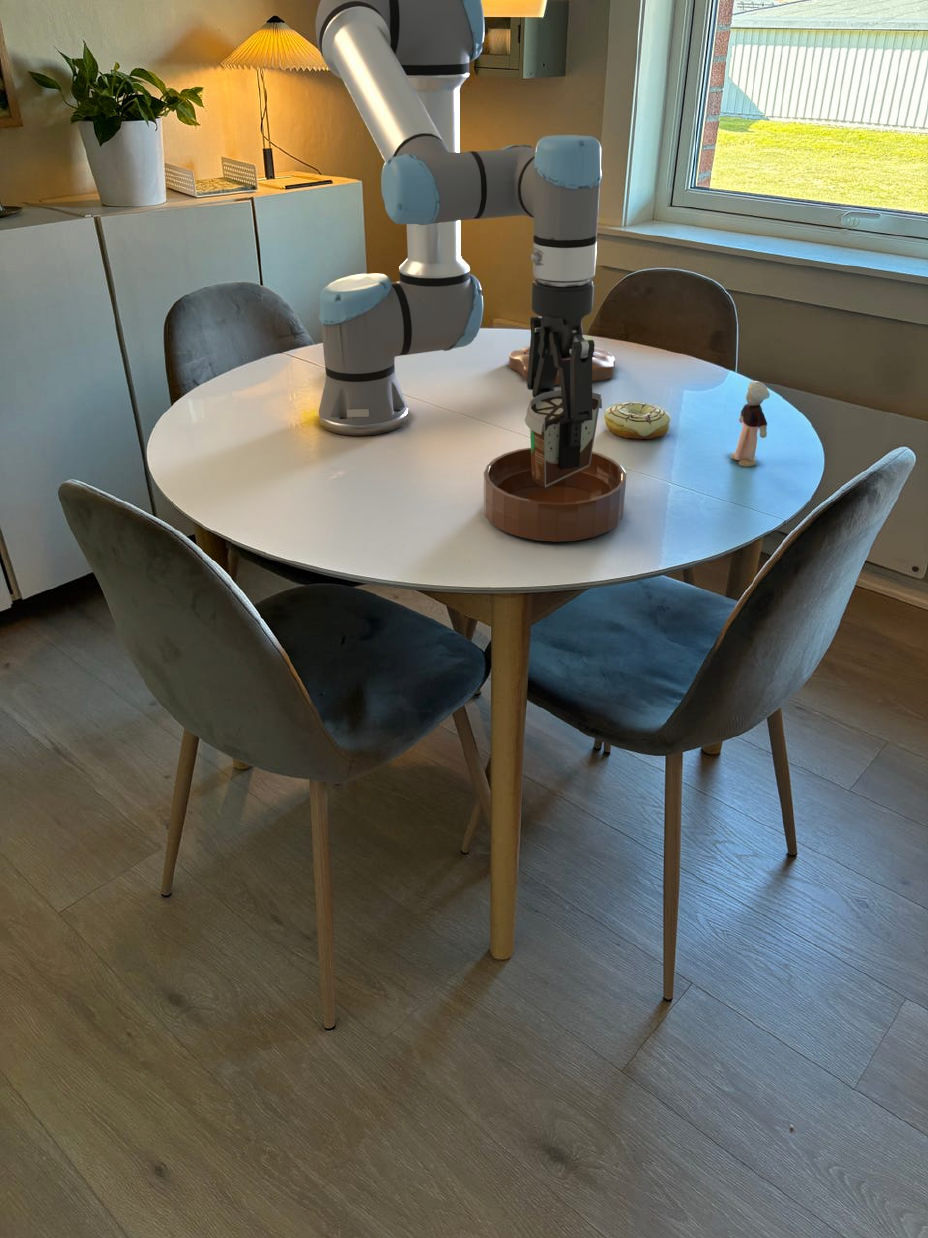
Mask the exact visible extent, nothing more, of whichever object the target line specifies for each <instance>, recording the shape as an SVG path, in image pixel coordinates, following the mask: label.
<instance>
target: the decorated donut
mask: <svg viewBox="0 0 928 1238" xmlns="http://www.w3.org/2000/svg"><path fill="white" fill-rule="evenodd" d="M603 420H604V422H605V426H606V428H607V429H608V430H609V432H611V433H612V434H614V435H617V436H618V437H621V438H624V439H639V440H644V439H646V440H651V439H655V438H659V437H660V436H664V435H666V434H667V433H668V431H669V428H670V421H671V415H670V414H669V412H667V410H665V409H664V408H663V407H661V406H659V405H656V404H651V403H648V402H642V401H623V402H617V403H615V404H612V405H611V406H610V407H608V408H607V409H606V410H605V412H604V416H603Z"/></svg>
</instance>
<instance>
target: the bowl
mask: <svg viewBox="0 0 928 1238" xmlns="http://www.w3.org/2000/svg"><path fill="white" fill-rule="evenodd" d="M626 485H627V472H626V471H625V469H624V467H623V466H622V465H621V464H620V463H619V462H617V461H616V460H615V459H613V458H611V457H609V456H607V455H605V454H602V453H599V452H596V451H592V456H591V462H590V466H589V467H587V468H585V469H583V470H581V471H579V472H576V473H574V474H572V475H570V476H568V477H566V478H564V479H562V480H560V481H558V482H556V483H554V484H552V485H550V486H548V487H546V488H544V487H542V486H540V485H539V484H537V483H536V482H535V481H534V479H533V477H532V465H531V447H525V448H519V449H516V450H512V451H509V452H505V453H502V454H501V455H499V456H497V457H495V458H493V459H492V460H490V462H489V463H488V464H487V465H486V466H485V469H484V472H483V510H484V515H485V517H486V519H488V521H489V522H490V523H491V524H492V525H493V526H495V527H497V528H498V529H500V530H502V531H503V532H505V533H508V534H510V535H513V536H516V537H518V538H524V539H528V540H534V541H541V542H553V543H555V542H557V543H558V542H559V543H560V542H575V541H580V540H585V539H589V538H590V539H591V538H594V537H597V536H600V535H603V534H605V533H608V532H609V531H611V530H612V529H614V528H615V527H617V526H618V525H619V524H620V522H621V520H623V518H624V510H625V509H624V508H625V498H626Z"/></svg>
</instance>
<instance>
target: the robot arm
mask: <svg viewBox="0 0 928 1238" xmlns="http://www.w3.org/2000/svg"><path fill="white" fill-rule="evenodd" d="M483 7H484V6H483V3H482V0H319V4H318V7H317V11H316V17H315V24H314V25H315V38H316V43H317V46H318V50H319V52H320V55H321V57H322V59H323V62H324V63H325V65H326V66H327V68H328V70H329V71H330V72H331V73H332V74H333V75H334V76H335V77H337V78H338V79H341V80H342V81H343V83H344V86H345V88H346V89H347V91H348V93H349V95H350V97H351V99H352V101H353V103H354V105H355V107H356V108H357V111H358V112H359V114H360V116H361V118H362V120H363V122H364V124H365V126H366V128H367V130H368V131H369V134H370V135H371V137H372V139H373V141H374V143H375V145H376V148H377V149H378V152H379V153H380V155H381V157H382V159H383V161H384V164H383V166H382V170H381V177H380V178H381V180H380V183H381V184H380V185H381V186H380V188H381V189H380V190H381V197H382V200H383V201H384V210H385V212H386V214H387V216H388V217H389V219H390V220H391V221H392V222H394V223H395V224H397V225H406V241H407V243H406V244H407V257H406V259H405V260H404V261H403V263H401V264H400V266H399V267H398V273H399V275H398V276H399V281H396V282H395V281H394V282H392V281H391V279H390V277H389V276H388V275H386V274H384V273H377V272H372V273H359V274H354V275H353V274H352V275H348V276H345V277H342V278H339V279H336V280H334V281H332V282H330V283H328V284H327V285H326V286H325V287H323V289H322V290H321V292H320V295H319V318H318V319H319V320H318V321H319V323H320V327H321V338H322V349H323V359H324V368H325V382H324V386H323V391H322V394H321V399H320V403H319V408H318V421H319V424H320V427H322V428H323V429H325V430H326V431H329V432H331V433H335V434H340V435H344V436H372V435H379V434H384V433H388V432H392V431H395V430H397V429H399V428H401V427H402V426H404V425H405V424H406V423H407V422H408V420H409V408H408V407H409V406H408V404H407V402H406V399H405V397H404V396H405V395H404V393H403V391H402V388H401V387H400V384H399V381H398V378H397V376H396V375H397V374H396V366H395V364H396V363H395V362H396V361H395V359H396V357H400V356H410V355H417V354H424V353H431V352H438V351H443V352H447V351H451V350H454V349H458V348H463V347H466V346H469V345H470V344H472V342H473V341H474V340H475V339H476V337H477V336H478V334H479V332H480V329H481V326H482V322H483V314H484V297H483V295H482V287H481V283H480V281H479V279H478V278H477V277H476V276H475V275H473V274H471V268H470V265H469V263H467V262H466V261H465V260H464V259H463V257H462V256H461V221H468V220H470V221H471V220H482V219H483V220H484V219H496V218H507V217H518V216H519V217H520V216H525V217H529V218H532V219H533V239H532V241H533V252H532V253H531V254H530V260H531V262H532V275H533V277H535V278H536V279H534V280H533V282H532V284H531V310H532V312H533V313H534V314H535V315H536V316H530V319H529V325H530V342H529V343H530V344H529V347H530V353H529V366H528V378H527V381H526V389H527V390H528V391H531V394H532V399H533V398H535V397H536V396H538V395H540V394H543V393H546V392H550V391H556V390H555V386H556V385H555V381H556V376H557V372H558V370H559V378H560V385H559V387H560V390H561V396H562V404H563V413H564V419H559V422H560V439H559V461H558V468H559V469H560V470H563V469H569V468H574V467H579V464H580V446H581V429H582V422H583V421H589V420H592V392H593V382H592V359H593V353H594V348H595V347H596V344H595V340H593V339H591V340H587V341H586V340H585V339H586V338H584V332H583V324H582V320H583V319H584V317H586V316H588V315H590V314H591V313H592V312H593V309H594V296H595V295H594V293H595V283H594V282H593V281H592V279H593V278H594V277H596V265H597V264H596V262H597V247H598V246H597V245H598V241H597V236H598V228H599V227H598V226H599V225H598V224H599V215H600V214H599V213H600V212H599V211H600V199H601V185H602V179H603V172H602V146H601V142H600V141H599V140H598V139H597V138H595V137H594V136H591V135H579V134H556V135H555V134H554V135H546V136H543V137H540V139H538V141H537V143H536V147H533V146H532V145H528V144H521V145H517V144H516V145H515V144H514V145H507V146H504V147H502V148H501V149H492V150H491V149H489V150H476V151H475V150H472V151H471V150H470V151H461V149H460V147H461V146H460V89H461V86H462V85H463V83H464V82H465V81H466V80H467V79H468V78H469V76H470V62H473V61H474V60H476V59H478V57H479V56H480V55H481V53H482V51H483V43H484V42H485V17H484V16H485V15H484V9H483ZM568 358H570V360H562V359H568ZM534 378H535V380H534Z"/></svg>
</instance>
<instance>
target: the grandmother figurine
mask: <svg viewBox="0 0 928 1238" xmlns="http://www.w3.org/2000/svg"><path fill="white" fill-rule="evenodd" d="M745 395H746V396H745V400H746V404H744V405H743V407H742V409H741V411H740V415H739V419H738V421H739V423H741V424H742V427H741V428H742V429H741V432H740V435H739V439H738V441H737V445H736V448H735V452H733V453H732V454H731V455H730V458H731V459H732V460H734V461H738V464H739V465H740V466H741V467H745V468H748V467H754V466H756V465H757V464H758V463H757V460H755V456H756V451H757V444H758V431H759V437H760V438H761V439H764V438H766V437H767V430H768V429H767V426H768V422H767V419H766V416H765V414H764V412H763V408H762V403H763V402H764V401H765V400H767V399H769V398H770V395H771V394H770V391H769V390H768V387H767V386H766V384H765V383H763V382H761V381H757V380H752V381H751V382H749V383H748V385H747V392H746V394H745Z"/></svg>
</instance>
